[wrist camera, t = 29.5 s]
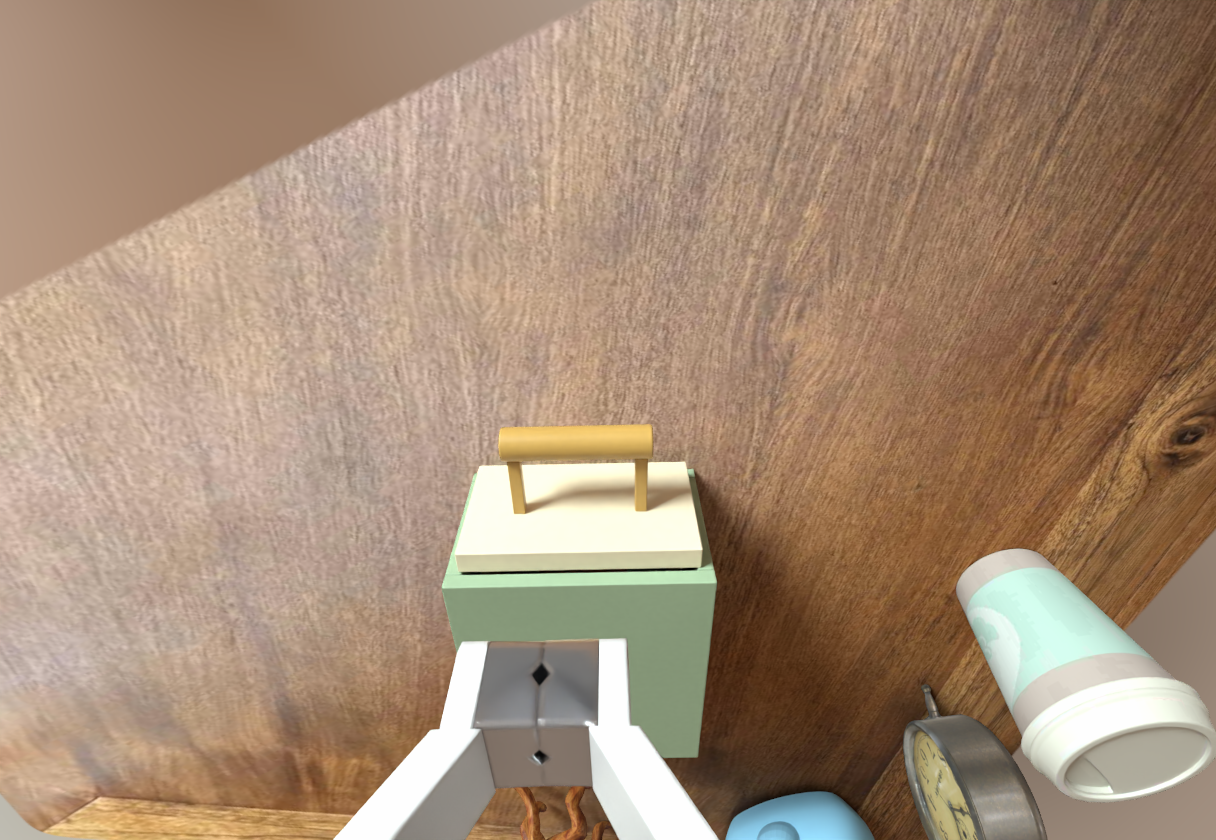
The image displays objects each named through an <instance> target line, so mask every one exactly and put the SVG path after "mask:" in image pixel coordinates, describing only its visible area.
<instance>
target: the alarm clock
mask: <svg viewBox="0 0 1216 840" xmlns="http://www.w3.org/2000/svg"><path fill="white" fill-rule="evenodd" d="M921 689H922V691H923V692H924V694H925V701H926V706H927V709H928V712H929V716H928V717H927V718H925V719H924V720H915V721H911V722H910V723H909V724H908V725H907V726H906V729H905V731H904V737H903V753H904V761H905V767H906V772H907V776H908V781H909V785H910V789H911V792H912V796H913V799H914V803H915V806H916V808H917V811H918V814H919V817H920V819H921V822H922V824H923V827H924V829H925V831H926V834H927V836H928V838H929V840H1047V835H1046V832H1045V827H1044V824H1043V821H1042V818H1041V814H1040V812H1039V809H1038V806H1037V804H1036V801H1035V799H1034V797H1033V794H1032V792H1031V790H1030V788H1029V786H1028V784H1027V782H1026V780H1025V778H1024V776H1023V774H1022V773H1021V771H1020V769H1019V767H1018V765H1017V764H1016V762H1015V761H1014V759H1013V758H1012V756H1011V755H1010V753H1009V752H1008V750H1007V749H1006V748H1005V746H1004V745H1003V744H1002V743H1001V741H1000V740H999V739H998V738H997V737H996V736H995V735H994V734H993V733H992V732H991V731H990V730H989V729H988V728H987V727H986V726H984V725H983V724H982V723H980V722H979V721H977V720H975V719H973V718H971V717H968V716H965V715H961V714H960V715H951V716H944V717H943V716H941V715H940V714H939V712H938V708H937V705H936V703H935V701H934V699H933V697H932V695H931V694H930V692H931V688H930V686H929V685H923V686H922V687H921Z"/></svg>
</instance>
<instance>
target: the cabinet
mask: <svg viewBox="0 0 1216 840" xmlns="http://www.w3.org/2000/svg"><path fill="white" fill-rule="evenodd" d="M687 471H688V476H689V481H690V486H691V491H692V496H693V501H694V507H695V512H696V517H697V522H698V527H699V532H700V537H701V543H702V548H703V554H702V565H701V567H700V568H682V571H650V572H598V573H546V574H494V575H481V572H458V568H457V563H456V558H455V551H456V548H457V544H458V541H459V537H460V534H461V530H462V527H463V523H464V520H465V516H466V513H467V509H468V506H469V502H470V498H471V495H472V491H473V488H474V484H475V481H476V477H477V474H478V473H475V474H474V477H473V481H472V485H471V488H470V492H469V495H468V499H467V502H466V505H465V509H464V512H463V516H462V519H461V523H460V526H459V530H458V533H457V536H456V540H455V543H454V547H453V550H452V554H451V557H450V561H449V564H448V567H447V571H446V574H445V575H446V576H445V578H444V581H443V584H442V592H443V596H444V601H445V605H446V609H447V613H448V617H449V622H450V626H451V630H452V634H453V638H454V643H455V647H456V651H457V652H458V649H459V647H460V645H461V643H462V642H467V641H545V640H565V639H593V638H599V639H618V638H627V642H628V655H629V678H630V701H631V724H632V725H634V726H641V728H642V729H643V731H644V732H645V734H646V735H647V736H648V738H649V739H650V741H651V742H652V744H653V745H654V747H655V748H656V749H657V751H658V752H659V754H660V755H661V757H662V758H690V757H698V751H699V742H700V733H701V724H702V715H703V706H704V697H705V688H706V679H707V670H708V661H709V652H710V642H711V633H712V624H713V615H714V606H715V597H716V588H717V580H716V575H715V571H714V566H713V561H712V557H711V552H710V547H709V542H708V537H707V533H706V528H705V523H704V518H703V513H702V509H701V504H700V499H699V494H698V489H697V485H696V480H695V474H694V470H693V469H687Z"/></svg>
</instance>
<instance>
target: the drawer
mask: <svg viewBox="0 0 1216 840" xmlns="http://www.w3.org/2000/svg"><path fill="white" fill-rule="evenodd" d="M498 445H499V456H500V459H501V461H503V462H507V465H501V466H480V467H479V470H478V474H477V477H476V481H475V484H474V488H473V491H472V495H471V498H470V502H469V506H468V509H467V513H466V516H465V520H464V523H463V527H462V530H461V534H460V537H459V541H458V544H457V548H456V551H455V558H456V563H457V568H458V572H481V575H494V574H539V571H552V570H604V569H627V572H650V571H682V568H700V567H701V565H702V554H703V548H702V543H701V537H700V532H699V527H698V522H697V517H696V512H695V507H694V501H693V496H692V491H691V486H690V481H689V476H688V471H687V465H686V462H652V463H648V459H652V458H653V428H652V425H650V424H643V425H593V426H543V427H502V428H501V429H500V432H499V442H498ZM621 459H635V463H602V464H551V465H522V461H571V460H621Z"/></svg>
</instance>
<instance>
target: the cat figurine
mask: <svg viewBox="0 0 1216 840" xmlns="http://www.w3.org/2000/svg"><path fill="white" fill-rule="evenodd" d="M590 788H591V787H590V786H572V787H571V789H570V790H569V792H568V794H567V796H566V799H565V802H566V807H567V809H568V811H569V814H570V818H571V822H572V827H571V828H570V829H569V830H567V831H564V832H562V833H559V834H556V835H554V836H552V837H550V838H548V839H547V840H584V839H585V838H586V836H587V823H586V818H585V816H584V814H583V813H582V811H581V809H580V807H579V803H580V800H581V798H582V796H583V794H584V791H585V789H590ZM514 789H515V790H516V791H517V792H518V794H519V795H520V796H521V798H522V799H523V801H524V803H525V806H526V810H527V816H526V817H525V819H524V820H523V822H522V824H521V826H520V833H521V836H522V840H545V838H544V836H543V835H542V833H541V832H540V819H539V812H545V811H546V809H547V807H546V805H545V804H543V803H542V802H539V801H537V802H535V799H534V796H533V794H532V792H531V791H530V789H529V788H528V787H515V788H514ZM609 828H611V823H610V822H607V821H602V822H600V823H598V824H596V825H595V826H594V829H593V832H592V840H602V835H603V832H604V830H605V829H609ZM617 840H619V838H618V836H617Z"/></svg>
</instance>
